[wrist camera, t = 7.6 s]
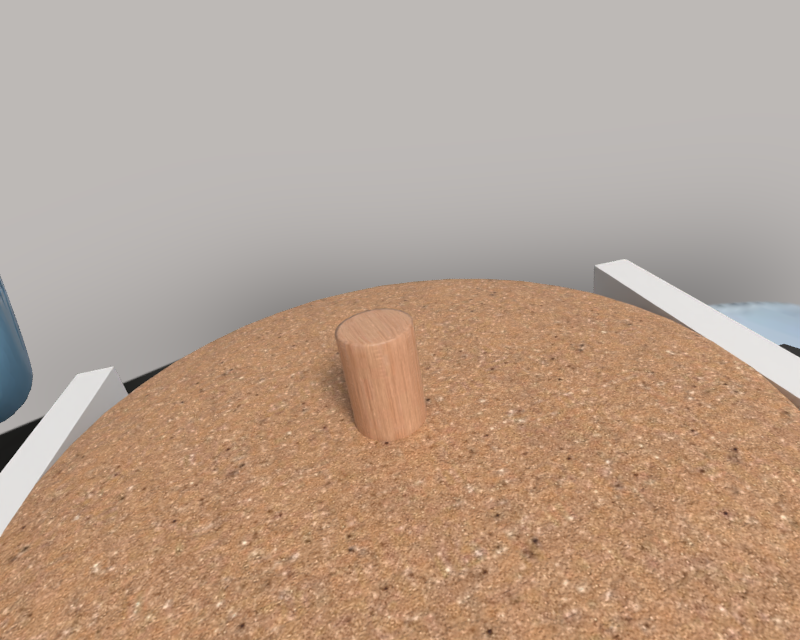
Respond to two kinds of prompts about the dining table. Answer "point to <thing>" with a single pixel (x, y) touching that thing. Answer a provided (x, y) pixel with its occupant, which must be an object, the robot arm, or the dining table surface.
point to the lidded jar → (425, 483)
